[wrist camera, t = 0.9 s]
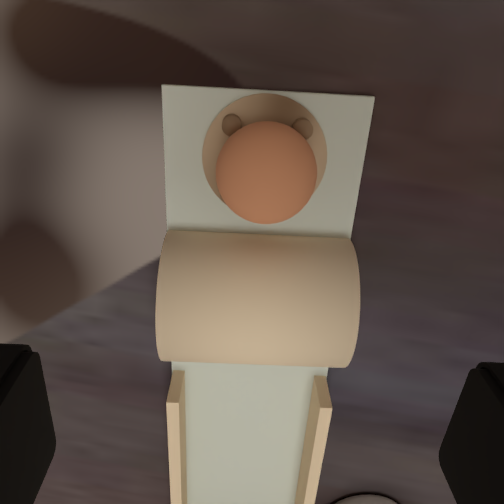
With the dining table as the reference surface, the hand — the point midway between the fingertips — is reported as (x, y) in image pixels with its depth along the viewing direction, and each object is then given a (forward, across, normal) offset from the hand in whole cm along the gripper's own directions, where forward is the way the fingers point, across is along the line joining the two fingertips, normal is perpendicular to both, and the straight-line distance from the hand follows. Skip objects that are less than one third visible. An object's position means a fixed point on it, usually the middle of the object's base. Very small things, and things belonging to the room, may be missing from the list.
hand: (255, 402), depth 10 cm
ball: (+14, -1, -1) cm, 14 cm away
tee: (+17, -1, -1) cm, 17 cm away
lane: (+20, -1, +14) cm, 24 cm away
